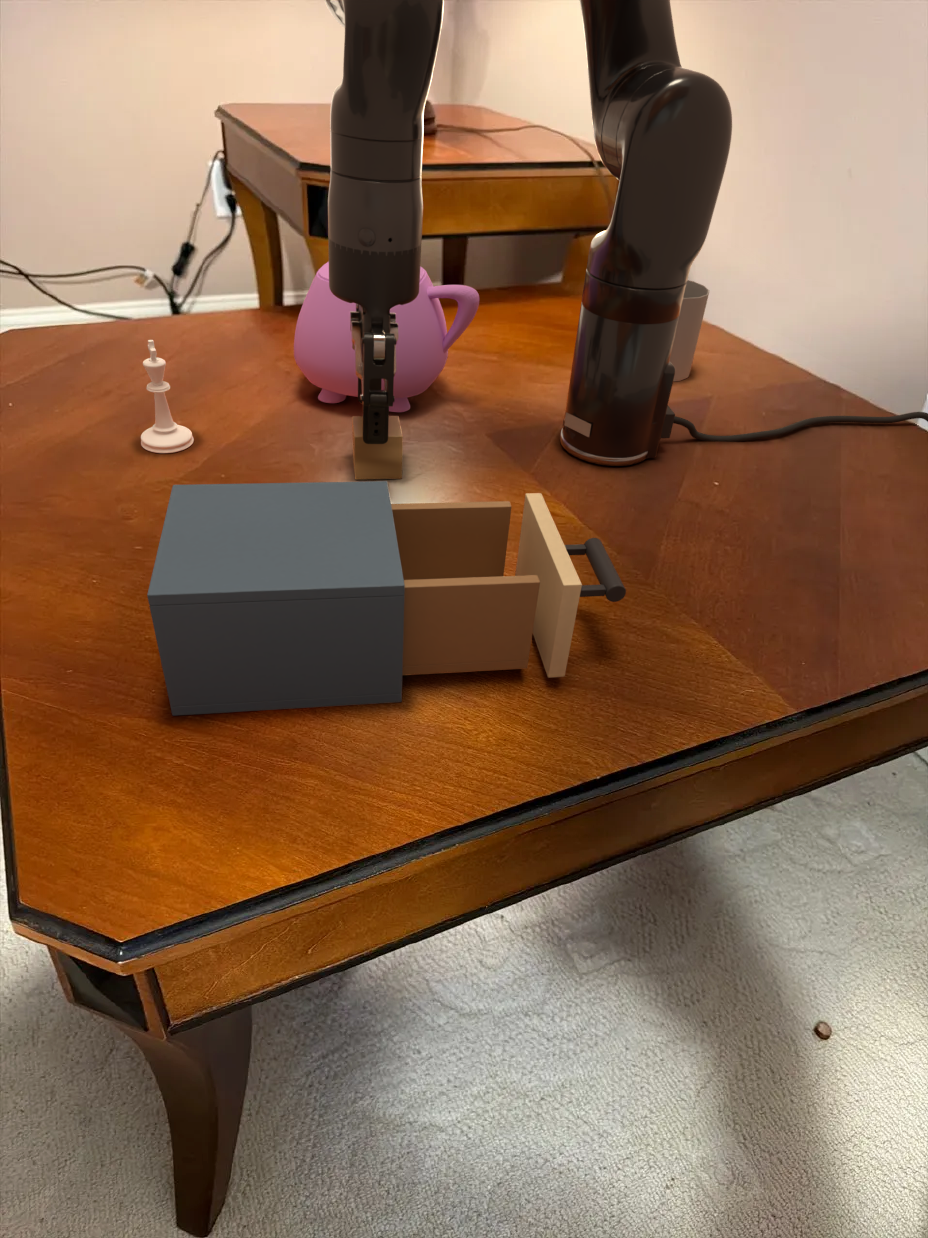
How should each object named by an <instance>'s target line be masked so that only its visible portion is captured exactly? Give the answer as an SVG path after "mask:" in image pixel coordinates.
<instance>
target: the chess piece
mask: <svg viewBox="0 0 928 1238" xmlns="http://www.w3.org/2000/svg"><path fill="white" fill-rule="evenodd" d="M155 347H156V346H155V341H154V340H153V339H147V348H148V349H147V350H148V352H149V356H150V357H148V358H145V359H144V360H143V361H142V366H143V368H144V370H145V372H146V374H147V375H148V377H149V379H150V382H148V383H147V384H146V391H148V392H149V393H153V397H154V399H153V400H154V415H155V416H154V420H155V421H154V424H152V426H150V427H149V428H147V429H144V431H143V432H142V433H141V435H140V446H141V447H142V449H144V450H146V451H148V452H151V453H156V454H172V453H177V452H182V451H184V450H186V449H188V448H190V447H191V446H192V445H193V444H194V441H195V438H194V436H193V432H192V431H191V429H189V428H188V427H186V426H184V425H180V424H178V423H177V422H175V421H174V419H173V416H172V412H171V410H170V407H169V403H168V400H167V396H166V392H168V391H170V389H171V385H170V383H169V382H168V381H164V378H165V370H166V367H167V362H166V360H165V359H164V358H161V357H158V353H157V349H156V348H155Z"/></svg>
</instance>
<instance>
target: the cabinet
mask: <svg viewBox="0 0 928 1238" xmlns="http://www.w3.org/2000/svg"><path fill="white" fill-rule="evenodd" d="M391 504H392V502H391V495H390V489H389V483H388V481H387V480H376V481H375V480H374V481H373V480H372V481H371V480H369V481H368V480H367V481H366V480H365V481H319V482H317V481H315V482H314V481H313V482H312V481H311V482H310V481H309V482H262V483H261V482H259V483H257V482H256V483H255V482H253V483H211V484H210V483H206V484H205V483H203V484H199V483H198V484H197V483H195V484H173V485H172V487H171V491H170V496H169V499H168V504H167V508H166V512H165V517H164V522H163V525H162V531H161V534H160V537H159V542H158V547H157V551H156V554H155V555H156V556H155V560H154V564H153V569H152V572H151V577H150V582H149V585H148V590H147V594H146V596H147V601H148V605H149V606H148V607H149V611H150V615H151V616H150V617H151V621H152V625H153V630H154V634H155V640H156V644H157V650H158V653H159V659H160V663H161V669H162V672H163V678H164V682H165V688H166V692H167V696H168V701H169V706H170V712H171V716H174V717H176V716H190V715H192V716H193V715H207V714H208V715H210V714H224V713H225V714H226V713H240V712H241V713H242V712H259V711H276V710H291V709H292V710H293V709H308V708H309V709H310V708H311V709H312V708H324V707H326V708H327V707H342V706H361V705H374V704H375V705H376V704H377V705H378V704H392V703H393V704H394V703H402V701H403V675H402V670H403V633H404V594H405V584H404V578H403V572H402V566H401V560H400V554H399V548H398V542H397V536H396V530H395V524H394V518H393V512H392V506H391Z"/></svg>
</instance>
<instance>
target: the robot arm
mask: <svg viewBox="0 0 928 1238" xmlns="http://www.w3.org/2000/svg"><path fill="white" fill-rule="evenodd" d="M578 1H579V6H580V11H581V18H582V25H583V34H584V43H585V53H586V64H587V65H586V66H587V76H588V88H589V89H588V90H589V101H590V112H591V113H590V114H591V125H592V131H593V132H592V133H593V140H594V143H595V148H596V151H597V154H598V156H599V158H600V160H601V163H602V165H603V166H604V167H605V168H606V169H607V171H608V172H609V174H611V175H612V176H613V177H615V178H616V179H617V180H618V181H619V183H618V187H617V192H616V198H615V201H614V202H615V203H614V208H613V211H612V216H611V219H610V223H609V225H608V226H607V228H606V230H603V231H600V232H599V233H597V234H595V236H594V237H593V238H592V240H591V241H590V245H589V249H588V256H587V263H586V269H585V274H584V275H585V276H584V281H583V288H582V295H581V303H580V310H579V316H578V322H577V324H578V325H577V328H576V329H577V330H576V336H575V343H574V350H573V356H572V363H571V370H570V377H569V382H568V383H569V384H568V389H567V396H566V402H565V403H566V404H565V410H564V416H563V421H562V428H561V431H560V438H559V442H560V444H561V446H562V448H563V449H564V450H565V451H567V453H568V454H570V455H572V456H574V457H576V458H578V459H580V460H582V461H585V462H588V463H592V464H595V465H596V464H597V465H602V466H612V467H614V466H616V467H619V466H630V465H631V466H632V465H635V464H638V463H641V462H643V461H644V460H647V459H655V458H657V454H658V450H659V446H660V445H659V444H660V441H661V439H670V438H671V434H672V430H673V425H674V424H675V425H679V426H681V427H683V428H685V429H687V431H688V432H689V434H690V436H691V437H692V438H694V439H696V440H699V441H702V442H714V443H715V442H716V443H717V442H719V443H720V442H722V443H723V442H724V443H734V442H736V443H738V442H747V441H754V440H759V439H768V438H774V437H778V436H783V435H787V434H789V433H792V432H794V431H797V430H799V429H802V428H804V427H808V426H812V425H818V424H828V423H854V424H857V423H859V424H894V423H899V422H904V421H910V420H916V419H921V420H925V421H926V422H927V423H928V412H925V411H913V412H907V413H903V414H898V415H893V416H892V415H891V416H869V415H867V416H865V415H825V416H824V415H823V416H815V417H810V418H805V419H802V420H799V421H797V422H794V423H791V424H789V425H786V426H783V427H779V428H775V429H774V428H773V429H769V430H761V431H754V432H748V433H740V434H732V435H715V434H714V435H712V434H708V433H704V432H700V431H698V430H697V428H696V426H695V425H694V423H693V422H692V421H690V420H688V419H686V418H684V417H679V416H676V414H675V411H673V409H672V408H671V407H670V406H669V402H670V398H671V393H672V389H673V385H674V384H673V383H674V381H673V380H674V376H675V367H674V366H673V364H672V363H671V362H670V361H669V360H670V356H671V351H672V346H673V342H674V337H675V333H676V328H677V324H678V319H679V314H680V310H681V305H682V301H683V296H684V292H685V287H686V283H687V280H689V279H688V278H689V275H690V271H691V267H692V266H693V263H694V262H695V260H696V259H697V257H698V256H699V254H700V252H701V251H702V249H703V247H704V245H705V242H706V239H707V237H708V235H709V230H710V227H711V223H712V220H713V216H714V212H715V208H716V204H717V200H718V197H719V194H720V190H721V187H722V183H723V179H724V175H725V171H726V167H727V163H728V160H729V154H730V149H731V142H732V135H733V134H732V133H733V113H732V107H731V103H730V100H729V97H728V95H727V93H726V91H725V90H724V88H723V87H722V85H721V84H720V83H719V82H718V81H716V80H715V78H712V77H711V76H709V75H707V74H705V73H703V72H700V71H697V70H692V69H689V68H686V67H685V68H684V67H683V66H682V64H681V59H680V55H679V50H678V45H677V40H676V34H675V27H674V20H673V13H672V7H671V6H672V5H671V0H578ZM324 3H325V6H326V8H327V10H328V11H329V13H330V14H331V16H332V17H333V18H334V20H335V21H336V22H337V23H338V24H339V25H340V26H341V27H342V28H344V41H343V61H342V63H343V64H342V78H341V82H340V84H338V85H337V86H336V87H335V89H334V91H333V93H332V97H331V102H330V113H329V144H330V145H329V147H330V148H329V149H330V151H329V152H330V153H329V154H330V176H329V177H330V178H329V186H328V195H327V196H328V197H327V236H328V237H327V240H328V242H327V243H328V244H327V245H328V262H329V288H330V290H331V292H332V293H333V295H335V296H336V297H337V298H339V299H341V300H343V301H345V302H348V303H356V312H354V311H350V331H351V338H352V348H353V349H354V350H355V374H356V376H357V377H358V397H357V400H358V403H360V404H361V405H362V416H363V441H364V442H365V443H366V444H385V443H386V442H387V441H388V424H389V416H390V411H389V406H392V407H393V402H394V401H395V397H394V396H393V387H394V376H395V373H396V344H397V341H398V337H399V335H398V323H396V314H395V313H390V309H391V308H392V307H394V306H396V305H399V304H400V305H404V304H407V303H410V302H412V301H413V300H414V299H415V298H416V297H417V296H418V294H419V284H420V266H421V262H422V241H423V224H424V223H423V221H424V201H423V200H424V199H423V186H422V185H423V184H422V183H423V181H422V180H423V179H422V174H423V173H422V170H423V153H424V152H423V151H424V149H423V148H424V128H425V127H424V126H425V125H424V115H425V108H426V107H425V106H426V103H427V99H428V95H429V92H430V87H431V84H432V79H433V74H434V70H435V69H434V68H435V64H436V59H437V54H438V49H439V44H440V38H441V32H442V27H443V19H444V6H445V0H324ZM382 379H383V380H384V389H385V390H381V385H382Z"/></svg>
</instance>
